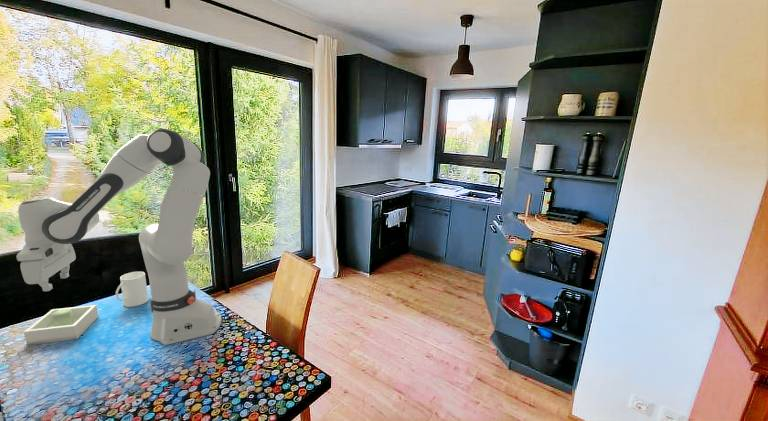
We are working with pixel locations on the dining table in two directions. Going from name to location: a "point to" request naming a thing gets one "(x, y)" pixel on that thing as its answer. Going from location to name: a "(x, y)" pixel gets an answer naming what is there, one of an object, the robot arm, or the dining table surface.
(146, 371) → the dining table surface
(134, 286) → the mug
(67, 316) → the pale green rounded piece
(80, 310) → the bin
